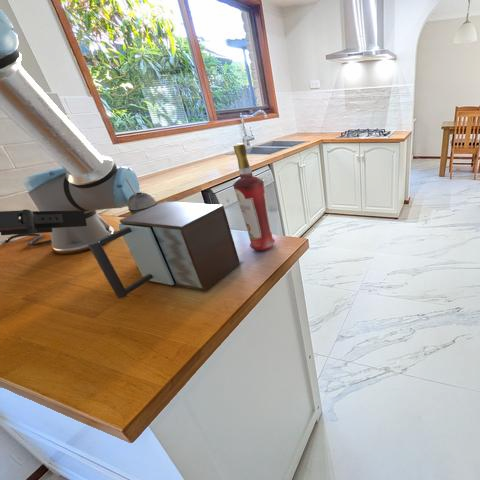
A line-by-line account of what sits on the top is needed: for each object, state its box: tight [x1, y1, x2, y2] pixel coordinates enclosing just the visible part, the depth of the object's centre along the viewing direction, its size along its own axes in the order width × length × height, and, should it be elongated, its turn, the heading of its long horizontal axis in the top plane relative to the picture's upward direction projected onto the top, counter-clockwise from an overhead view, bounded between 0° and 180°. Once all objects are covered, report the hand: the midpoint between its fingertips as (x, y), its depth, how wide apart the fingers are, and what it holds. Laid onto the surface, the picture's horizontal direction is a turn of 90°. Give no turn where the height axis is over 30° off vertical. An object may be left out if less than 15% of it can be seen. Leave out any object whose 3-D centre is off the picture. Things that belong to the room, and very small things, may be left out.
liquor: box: [232, 142, 276, 252], centre depth 75 cm, size 7×7×28 cm
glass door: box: [88, 223, 174, 299], centre depth 61 cm, size 9×8×14 cm
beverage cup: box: [125, 179, 158, 215], centre depth 85 cm, size 7×7×20 cm
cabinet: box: [119, 200, 241, 292], centre depth 69 cm, size 18×12×16 cm, turn 71°
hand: (67, 222), depth 54 cm, fingers open, 13 cm apart
